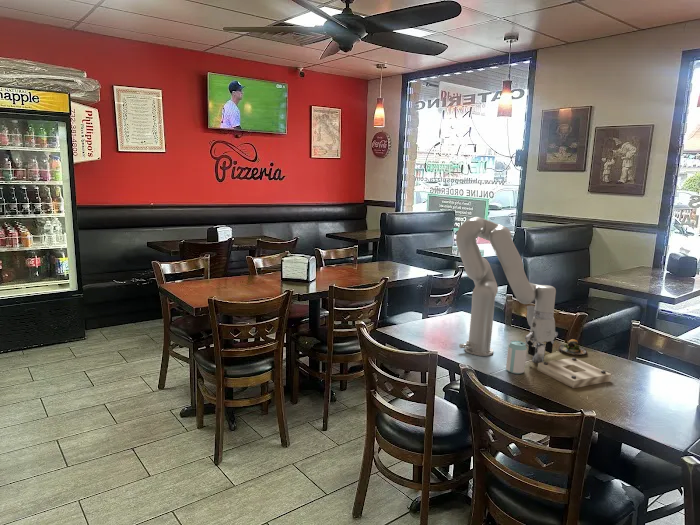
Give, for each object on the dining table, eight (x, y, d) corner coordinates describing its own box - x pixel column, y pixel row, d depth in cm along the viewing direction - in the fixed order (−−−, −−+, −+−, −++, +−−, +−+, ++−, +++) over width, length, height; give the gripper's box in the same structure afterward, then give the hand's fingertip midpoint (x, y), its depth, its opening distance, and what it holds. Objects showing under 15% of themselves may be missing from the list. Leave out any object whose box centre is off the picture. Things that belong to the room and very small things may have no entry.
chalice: (539, 347, 226) (544, 310, 222) (525, 346, 226) (529, 309, 222) (534, 342, 233) (538, 306, 229) (520, 341, 233) (524, 305, 230)
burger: (557, 353, 219) (559, 338, 218) (559, 346, 229) (561, 331, 228) (586, 359, 214) (588, 343, 212) (587, 351, 224) (589, 336, 223)
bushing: (537, 364, 205) (539, 346, 203) (529, 360, 209) (531, 342, 207) (545, 363, 207) (547, 345, 205) (537, 359, 211) (539, 341, 209)
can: (511, 366, 201) (514, 338, 199) (527, 371, 196) (530, 343, 194) (502, 370, 196) (505, 342, 194) (519, 376, 192) (522, 347, 189)
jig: (573, 388, 183) (574, 379, 182) (537, 369, 199) (538, 361, 198) (610, 381, 191) (611, 372, 190) (572, 364, 207) (574, 356, 206)
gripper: (534, 319, 197) (530, 359, 200) (566, 315, 204) (561, 353, 207) (521, 314, 204) (517, 352, 207) (552, 310, 211) (548, 348, 214)
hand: (539, 353), depth 207 cm, fingers open, 9 cm apart
